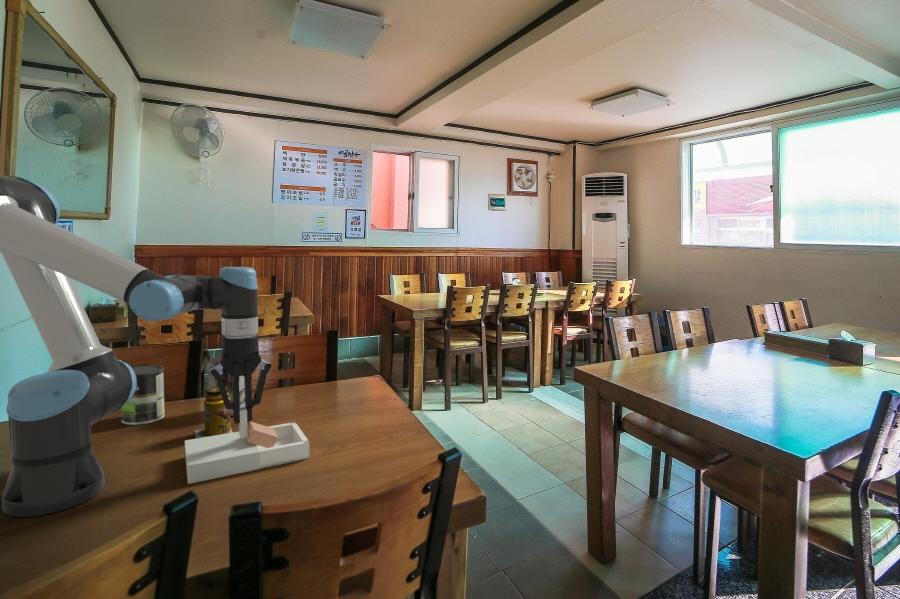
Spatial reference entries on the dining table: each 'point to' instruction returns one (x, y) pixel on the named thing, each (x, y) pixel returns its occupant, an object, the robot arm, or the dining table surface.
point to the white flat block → (219, 457)
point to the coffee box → (225, 381)
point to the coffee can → (145, 397)
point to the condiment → (215, 415)
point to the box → (285, 446)
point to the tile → (261, 435)
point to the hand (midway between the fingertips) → (243, 435)
